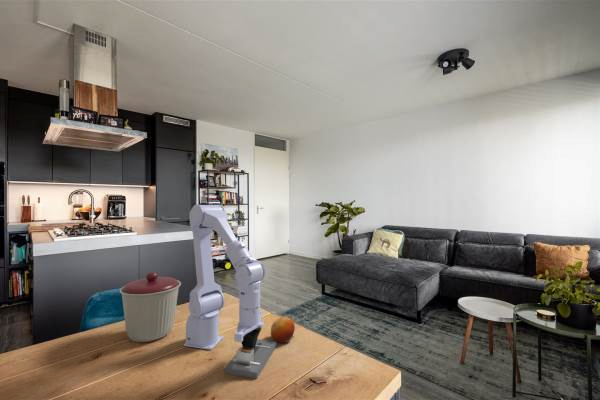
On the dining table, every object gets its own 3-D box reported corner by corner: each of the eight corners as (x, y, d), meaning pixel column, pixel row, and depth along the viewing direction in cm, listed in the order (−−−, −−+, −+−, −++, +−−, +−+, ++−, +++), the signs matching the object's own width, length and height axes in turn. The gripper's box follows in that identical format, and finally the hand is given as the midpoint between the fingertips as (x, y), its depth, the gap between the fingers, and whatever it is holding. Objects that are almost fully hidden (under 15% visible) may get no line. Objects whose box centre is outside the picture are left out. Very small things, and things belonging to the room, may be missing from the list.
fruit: (297, 342, 84) (284, 319, 85) (276, 353, 85) (264, 330, 86) (302, 330, 92) (290, 309, 93) (283, 340, 93) (271, 319, 94)
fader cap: (236, 364, 71) (236, 350, 71) (240, 359, 74) (240, 345, 74) (250, 366, 70) (250, 352, 70) (253, 361, 73) (253, 347, 73)
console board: (224, 373, 70) (224, 364, 70) (249, 342, 86) (249, 335, 86) (257, 378, 68) (257, 369, 68) (276, 346, 84) (276, 339, 84)
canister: (190, 325, 98) (191, 267, 99) (155, 351, 80) (157, 281, 81) (146, 321, 101) (147, 265, 102) (103, 345, 84) (105, 277, 84)
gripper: (252, 318, 67) (252, 373, 67) (271, 298, 81) (271, 344, 81) (227, 315, 68) (226, 369, 68) (250, 296, 83) (249, 341, 82)
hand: (249, 355), depth 75 cm, fingers closed
